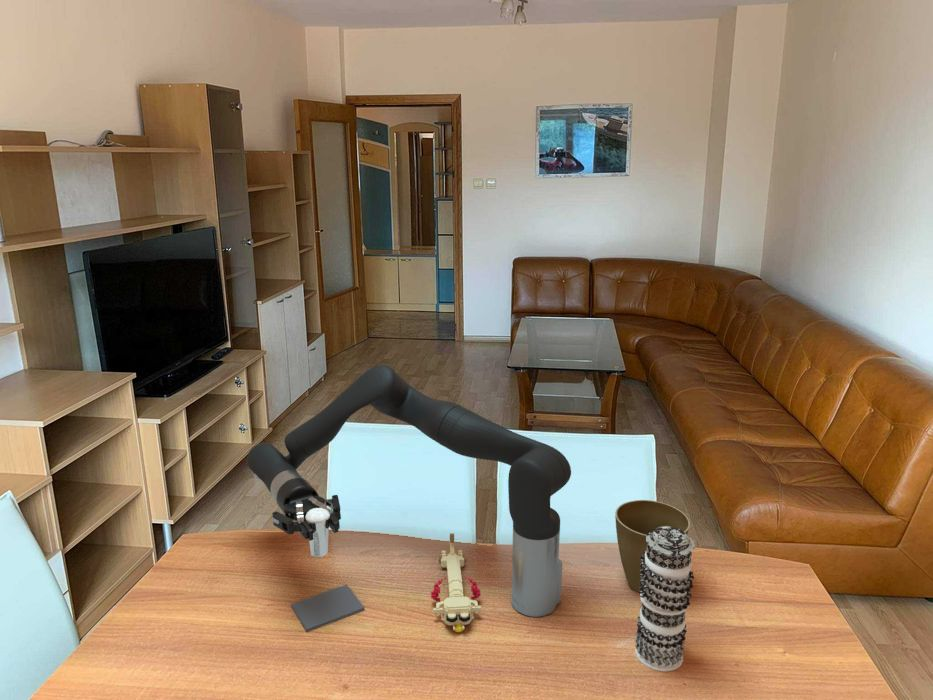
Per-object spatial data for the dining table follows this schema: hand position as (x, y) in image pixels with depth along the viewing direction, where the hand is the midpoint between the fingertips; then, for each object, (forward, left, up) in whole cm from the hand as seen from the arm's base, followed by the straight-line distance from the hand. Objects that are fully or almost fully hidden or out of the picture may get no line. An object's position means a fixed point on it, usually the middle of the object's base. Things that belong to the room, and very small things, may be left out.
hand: (324, 531), depth 127 cm
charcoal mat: (-1, -4, -20) cm, 20 cm away
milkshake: (0, -3, -6) cm, 7 cm away
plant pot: (-61, +25, -20) cm, 69 cm away
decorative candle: (-47, +41, -20) cm, 66 cm away
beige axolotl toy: (-25, +6, -20) cm, 33 cm away
